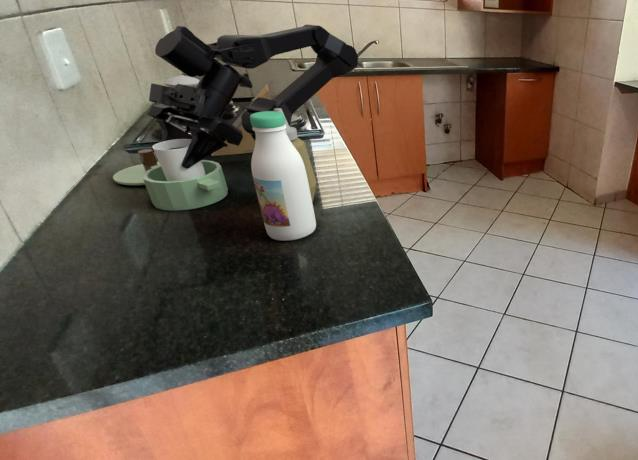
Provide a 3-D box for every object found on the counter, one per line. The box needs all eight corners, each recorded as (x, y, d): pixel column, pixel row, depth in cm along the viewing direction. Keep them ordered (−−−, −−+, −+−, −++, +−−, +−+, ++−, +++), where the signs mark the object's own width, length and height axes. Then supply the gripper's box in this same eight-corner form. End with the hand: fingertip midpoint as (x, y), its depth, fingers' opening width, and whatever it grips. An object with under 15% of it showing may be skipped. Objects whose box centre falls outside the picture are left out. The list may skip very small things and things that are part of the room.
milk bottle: (306, 216, 78) (284, 106, 68) (324, 232, 73) (303, 115, 64) (260, 229, 73) (229, 111, 63) (276, 247, 68) (246, 123, 59)
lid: (169, 161, 98) (161, 138, 95) (204, 173, 93) (197, 148, 91) (101, 179, 88) (89, 153, 85) (137, 193, 83) (126, 165, 80)
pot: (195, 178, 91) (187, 153, 88) (250, 196, 84) (243, 170, 82) (130, 198, 81) (119, 170, 78) (187, 219, 75) (176, 190, 72)
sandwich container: (213, 146, 109) (195, 85, 102) (279, 140, 116) (267, 83, 109) (210, 156, 103) (191, 92, 95) (281, 150, 109) (268, 89, 102)
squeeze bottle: (302, 213, 79) (282, 116, 70) (264, 207, 80) (240, 111, 71) (328, 196, 86) (312, 106, 77) (292, 191, 87) (273, 102, 78)
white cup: (219, 187, 86) (203, 138, 81) (202, 201, 80) (185, 150, 75) (183, 187, 85) (165, 138, 80) (163, 201, 79) (143, 150, 74)
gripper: (140, 59, 78) (93, 133, 74) (207, 70, 71) (160, 151, 68) (197, 96, 88) (158, 162, 84) (261, 108, 81) (221, 181, 78)
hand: (173, 164), depth 78 cm, fingers closed on white cup, 6 cm apart
